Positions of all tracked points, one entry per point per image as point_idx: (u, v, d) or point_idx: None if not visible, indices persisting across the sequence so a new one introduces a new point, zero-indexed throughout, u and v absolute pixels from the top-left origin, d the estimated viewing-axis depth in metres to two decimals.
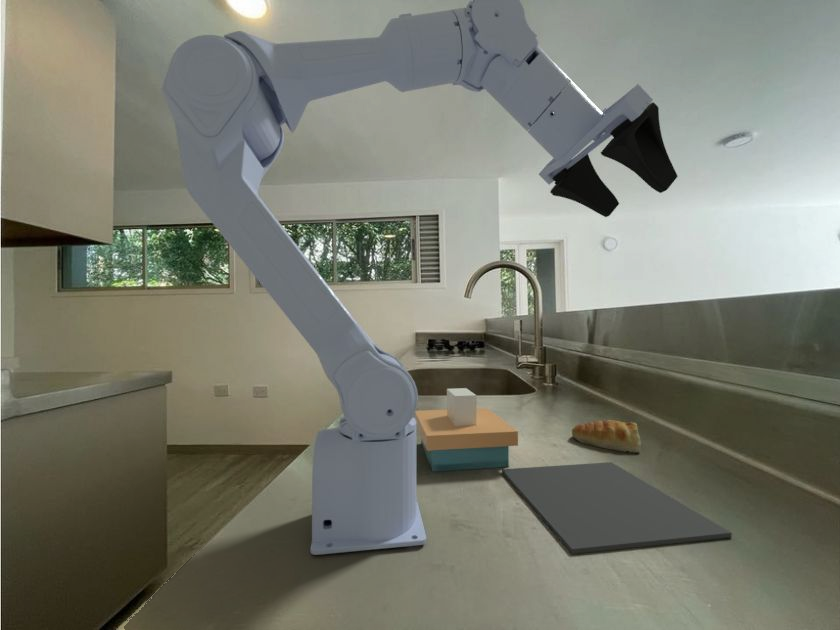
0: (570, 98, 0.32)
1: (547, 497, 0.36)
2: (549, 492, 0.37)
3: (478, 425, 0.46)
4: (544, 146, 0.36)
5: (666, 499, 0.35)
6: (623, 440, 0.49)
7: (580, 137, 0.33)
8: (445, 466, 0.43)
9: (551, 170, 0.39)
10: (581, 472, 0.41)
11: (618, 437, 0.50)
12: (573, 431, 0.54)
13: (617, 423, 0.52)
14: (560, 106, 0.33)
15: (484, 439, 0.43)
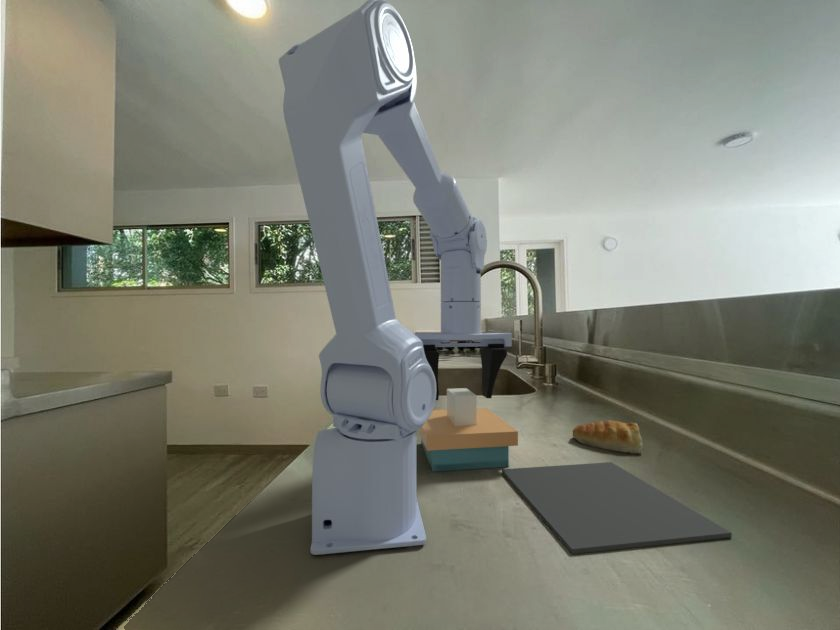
0: None
1: (547, 497, 0.36)
2: (549, 492, 0.37)
3: (478, 425, 0.46)
4: (458, 319, 0.46)
5: (666, 499, 0.35)
6: (624, 440, 0.49)
7: (479, 332, 0.47)
8: (445, 466, 0.43)
9: (436, 338, 0.46)
10: (581, 472, 0.41)
11: (619, 438, 0.49)
12: (574, 432, 0.53)
13: (618, 424, 0.51)
14: (480, 308, 0.48)
15: (484, 439, 0.43)
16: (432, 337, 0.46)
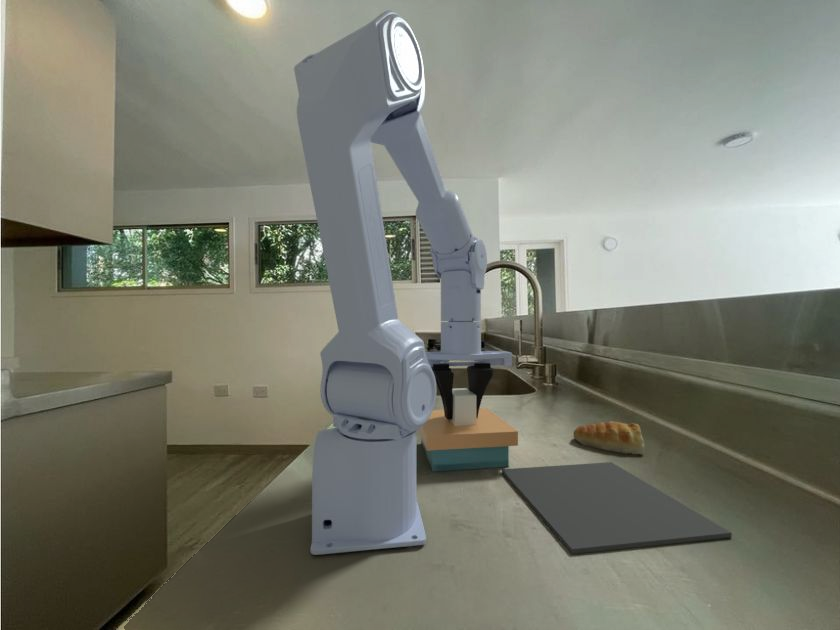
0: None
1: (547, 497, 0.36)
2: (549, 492, 0.37)
3: (478, 425, 0.46)
4: (458, 339, 0.46)
5: (666, 499, 0.35)
6: (626, 441, 0.48)
7: (479, 352, 0.47)
8: (445, 466, 0.43)
9: (435, 358, 0.46)
10: (581, 472, 0.41)
11: (621, 439, 0.49)
12: (575, 433, 0.53)
13: (620, 425, 0.51)
14: (480, 327, 0.48)
15: (484, 439, 0.43)
16: (432, 357, 0.46)
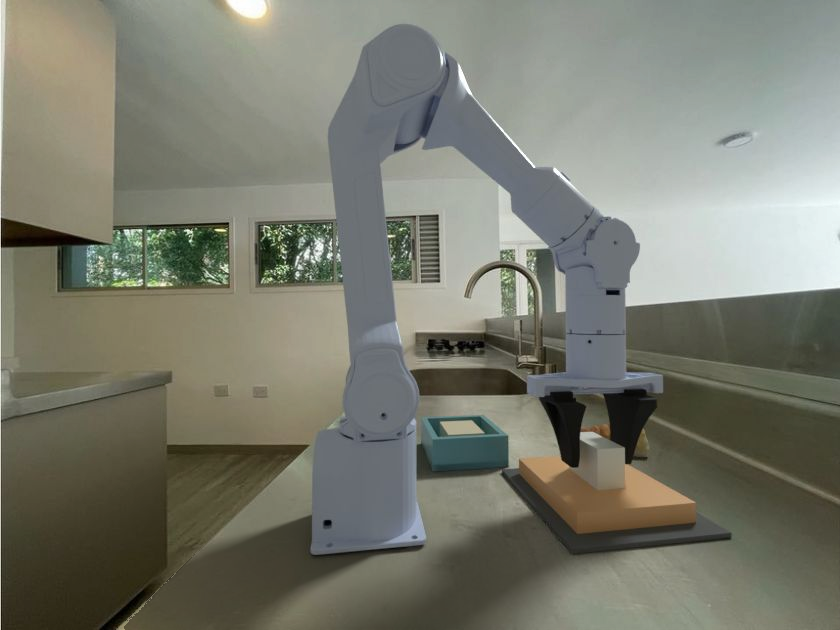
0: None
1: None
2: None
3: (628, 488, 0.34)
4: (603, 359, 0.33)
5: None
6: None
7: (626, 376, 0.35)
8: (445, 466, 0.43)
9: (570, 384, 0.34)
10: None
11: None
12: None
13: None
14: None
15: (653, 515, 0.30)
16: (565, 383, 0.34)
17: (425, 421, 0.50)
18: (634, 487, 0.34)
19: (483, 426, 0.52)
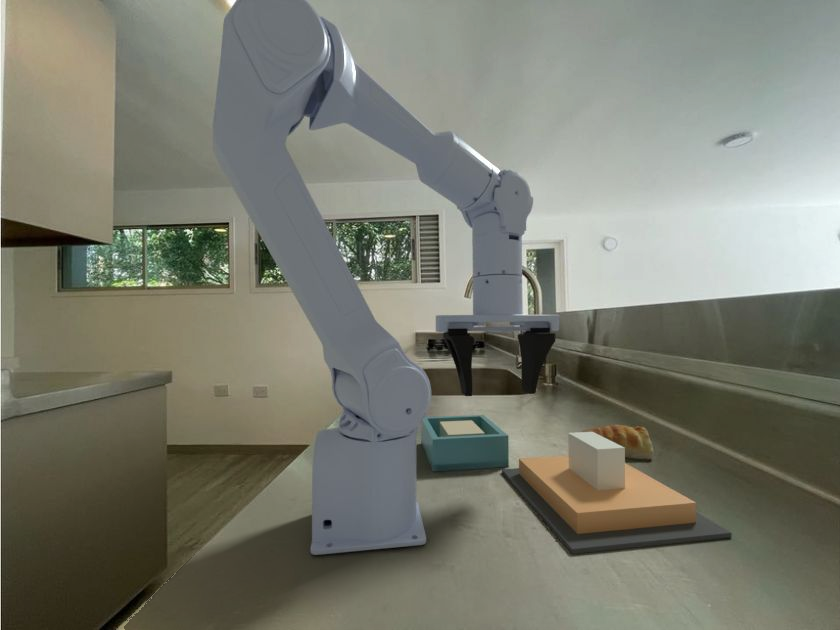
0: None
1: None
2: None
3: (628, 488, 0.34)
4: (497, 296, 0.37)
5: None
6: (635, 446, 0.47)
7: (522, 313, 0.39)
8: (445, 466, 0.43)
9: (469, 320, 0.38)
10: None
11: (630, 444, 0.47)
12: None
13: (626, 428, 0.49)
14: None
15: (653, 515, 0.30)
16: (464, 319, 0.38)
17: (425, 421, 0.50)
18: (634, 487, 0.34)
19: (483, 426, 0.52)
